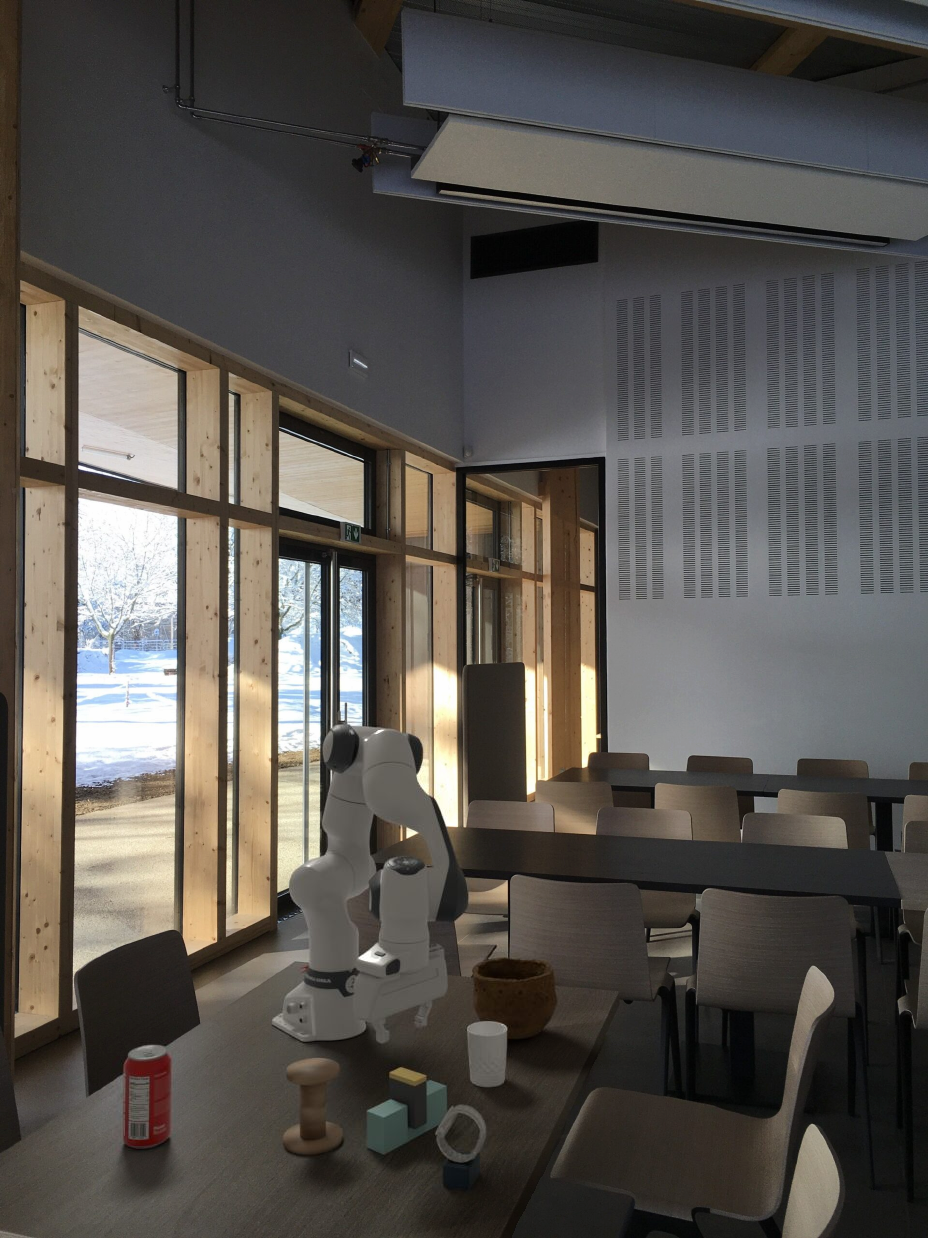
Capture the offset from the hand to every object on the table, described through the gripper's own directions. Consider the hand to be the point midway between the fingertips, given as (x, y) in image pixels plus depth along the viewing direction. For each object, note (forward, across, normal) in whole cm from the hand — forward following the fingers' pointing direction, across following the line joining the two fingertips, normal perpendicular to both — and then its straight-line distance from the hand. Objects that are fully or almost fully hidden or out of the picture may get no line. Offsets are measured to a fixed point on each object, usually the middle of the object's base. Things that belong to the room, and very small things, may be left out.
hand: (401, 1034), depth 169 cm
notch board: (+17, -1, +1) cm, 17 cm away
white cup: (+17, -27, -2) cm, 32 cm away
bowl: (+17, -48, -13) cm, 53 cm away
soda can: (+18, +30, -31) cm, 47 cm away
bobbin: (+17, +12, -10) cm, 23 cm away
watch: (+16, +5, +18) cm, 25 cm away
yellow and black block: (+15, -1, +1) cm, 15 cm away
